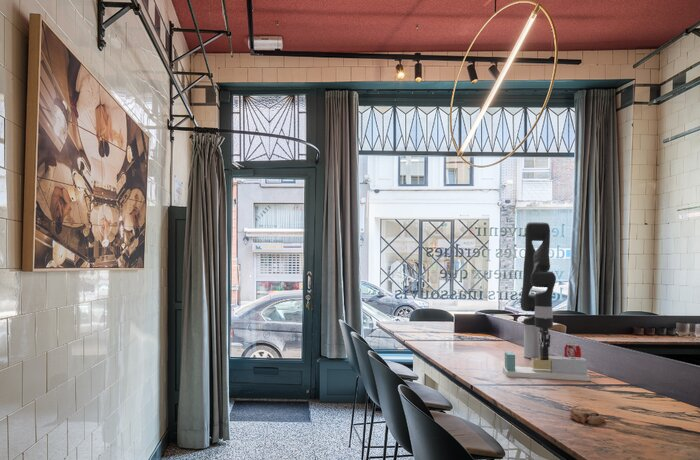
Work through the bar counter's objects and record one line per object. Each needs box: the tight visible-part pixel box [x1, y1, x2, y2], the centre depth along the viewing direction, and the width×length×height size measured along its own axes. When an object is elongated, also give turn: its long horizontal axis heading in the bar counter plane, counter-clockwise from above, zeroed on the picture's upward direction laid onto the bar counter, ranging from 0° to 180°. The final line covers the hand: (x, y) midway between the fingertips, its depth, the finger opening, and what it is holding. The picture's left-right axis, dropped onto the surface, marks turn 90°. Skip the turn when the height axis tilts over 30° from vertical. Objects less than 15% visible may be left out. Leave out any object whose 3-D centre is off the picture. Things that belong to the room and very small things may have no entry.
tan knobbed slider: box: [531, 345, 552, 370], centre depth 207 cm, size 4×20×10 cm, turn 80°
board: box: [502, 365, 591, 382], centre depth 207 cm, size 12×34×2 cm, turn 80°
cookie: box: [569, 407, 606, 426], centre depth 149 cm, size 10×11×3 cm
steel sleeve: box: [549, 355, 588, 374], centre depth 206 cm, size 6×14×6 cm, turn 80°
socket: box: [504, 350, 516, 371], centre depth 210 cm, size 8×3×7 cm, turn 170°
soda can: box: [563, 342, 582, 358], centre depth 219 cm, size 7×7×12 cm
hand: (544, 355), depth 208 cm, fingers closed on tan knobbed slider, 3 cm apart
